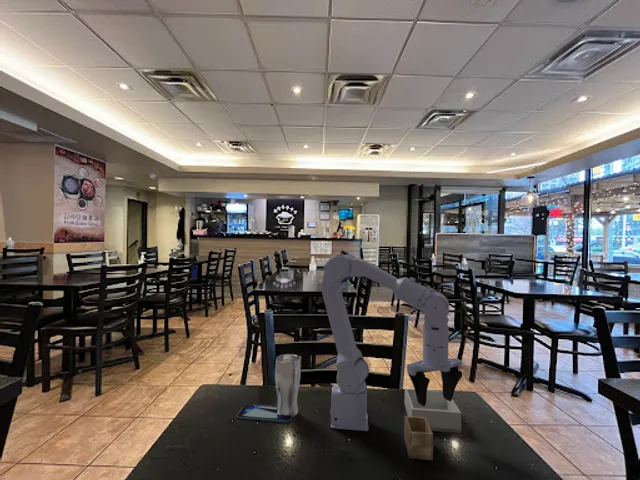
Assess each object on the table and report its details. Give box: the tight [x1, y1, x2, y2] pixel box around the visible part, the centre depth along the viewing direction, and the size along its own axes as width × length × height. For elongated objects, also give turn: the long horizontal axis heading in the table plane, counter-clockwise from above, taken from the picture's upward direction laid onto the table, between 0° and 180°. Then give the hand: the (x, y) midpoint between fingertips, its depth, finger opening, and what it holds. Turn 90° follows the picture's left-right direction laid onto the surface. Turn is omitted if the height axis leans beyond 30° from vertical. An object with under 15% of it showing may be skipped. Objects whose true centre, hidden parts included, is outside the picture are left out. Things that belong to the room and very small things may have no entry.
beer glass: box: [274, 353, 301, 418], centre depth 86 cm, size 7×7×15 cm
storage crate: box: [404, 388, 462, 434], centre depth 85 cm, size 12×12×5 cm
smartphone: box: [235, 403, 294, 424], centre depth 86 cm, size 7×1×15 cm
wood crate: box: [403, 415, 434, 461], centre depth 72 cm, size 5×7×6 cm
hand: (434, 401), depth 74 cm, fingers open, 7 cm apart
